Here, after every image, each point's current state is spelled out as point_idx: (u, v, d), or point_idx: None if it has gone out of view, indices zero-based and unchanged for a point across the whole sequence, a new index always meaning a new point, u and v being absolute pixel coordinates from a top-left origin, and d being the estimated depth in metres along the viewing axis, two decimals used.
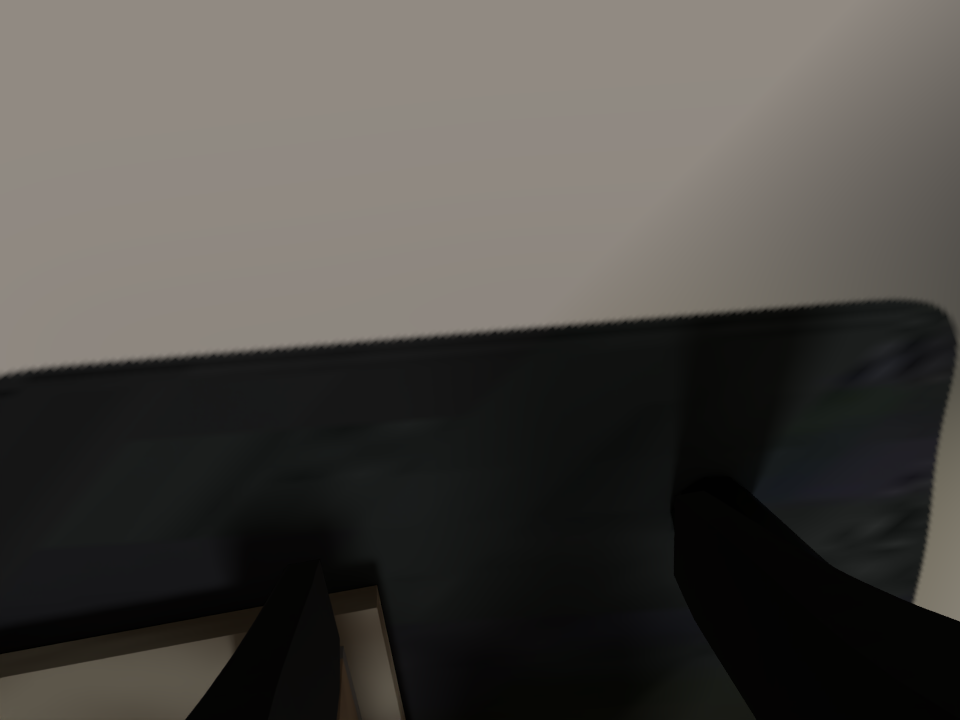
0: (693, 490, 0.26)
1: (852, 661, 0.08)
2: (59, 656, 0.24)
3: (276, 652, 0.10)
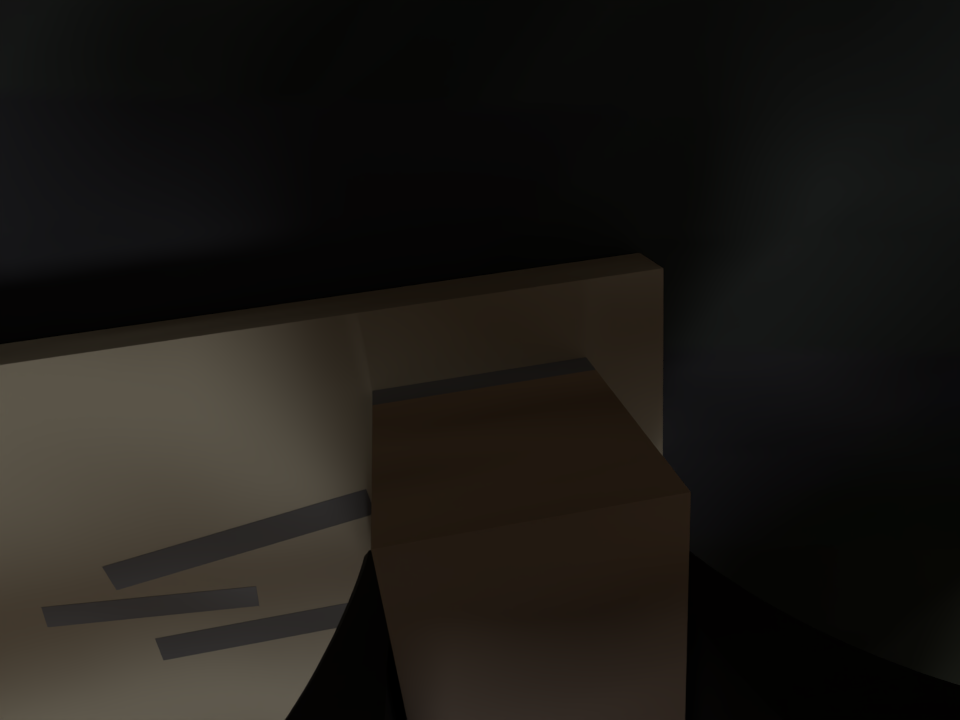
0: None
1: (737, 684, 0.08)
2: (14, 353, 0.11)
3: (378, 632, 0.10)
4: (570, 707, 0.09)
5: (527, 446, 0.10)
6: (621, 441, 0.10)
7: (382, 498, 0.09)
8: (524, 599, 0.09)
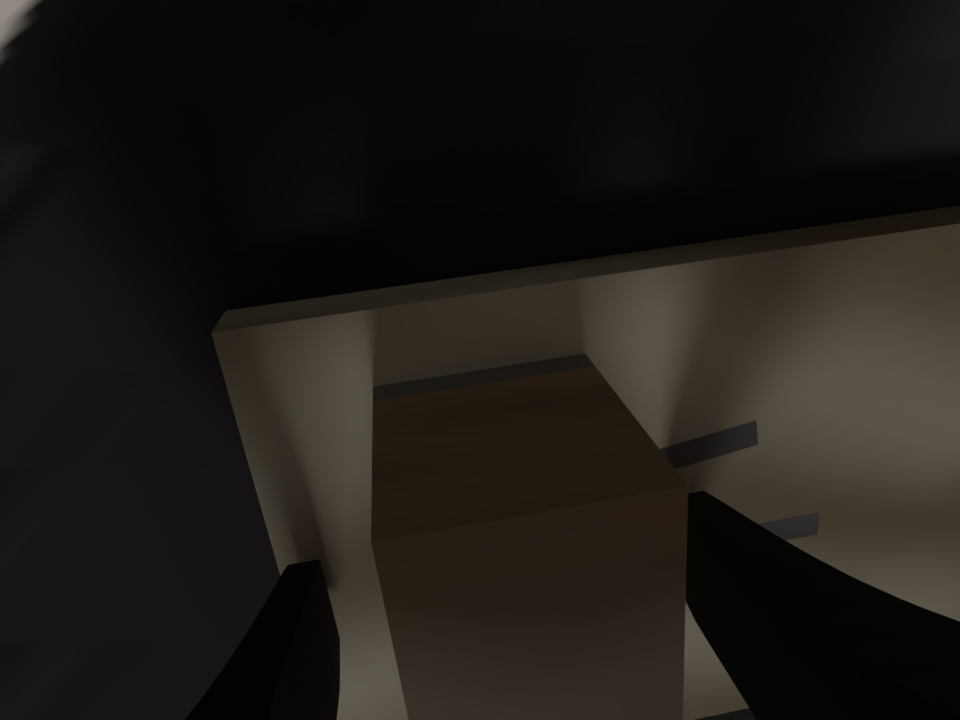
0: None
1: (853, 661, 0.08)
2: (472, 285, 0.12)
3: (276, 652, 0.10)
4: (568, 699, 0.10)
5: (526, 442, 0.10)
6: (619, 435, 0.10)
7: (382, 492, 0.09)
8: (522, 593, 0.09)
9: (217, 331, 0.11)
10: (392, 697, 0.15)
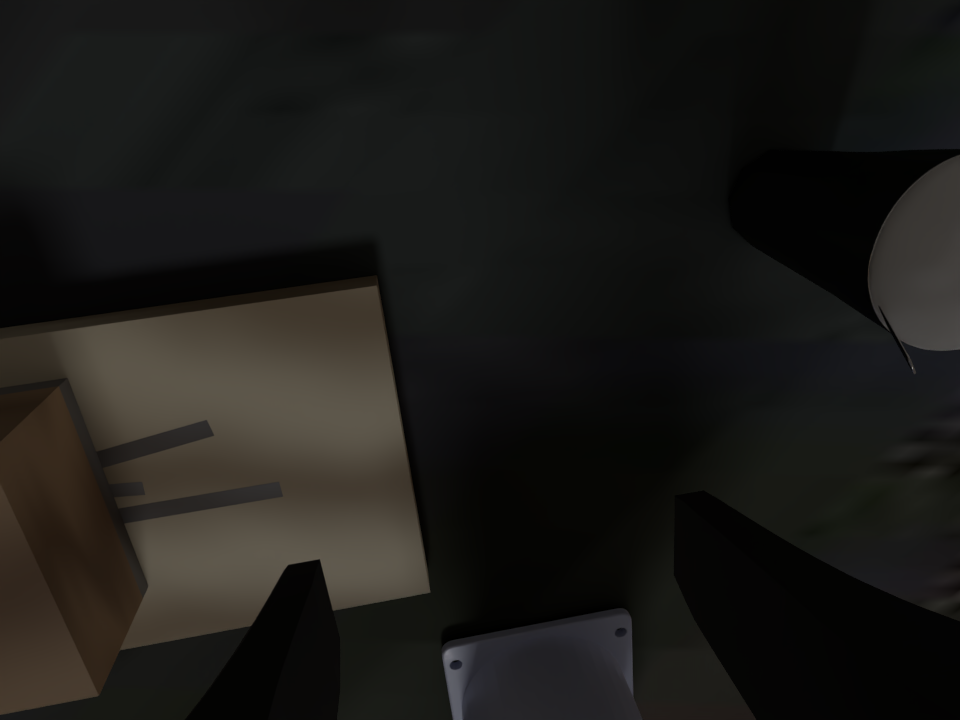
0: (756, 161, 0.21)
1: (852, 660, 0.08)
2: None
3: (276, 652, 0.10)
4: None
5: None
6: (0, 428, 0.17)
7: None
8: None
9: None
10: None
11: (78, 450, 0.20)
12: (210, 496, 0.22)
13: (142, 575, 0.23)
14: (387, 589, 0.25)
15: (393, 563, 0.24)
